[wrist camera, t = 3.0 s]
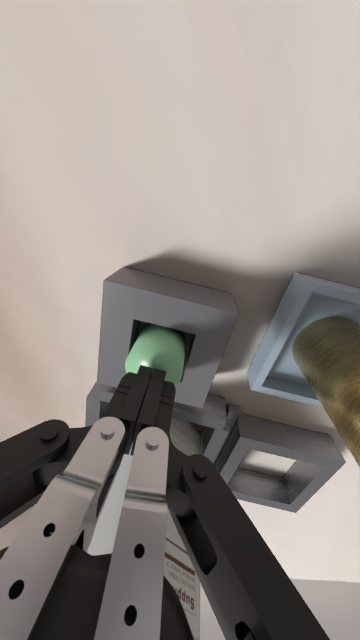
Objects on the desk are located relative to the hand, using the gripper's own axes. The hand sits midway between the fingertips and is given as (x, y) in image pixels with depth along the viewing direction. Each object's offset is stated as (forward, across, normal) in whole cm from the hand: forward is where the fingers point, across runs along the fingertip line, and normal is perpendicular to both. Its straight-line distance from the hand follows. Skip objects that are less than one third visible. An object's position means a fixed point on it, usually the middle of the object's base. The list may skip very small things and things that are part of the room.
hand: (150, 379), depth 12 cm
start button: (+4, 0, 0) cm, 4 cm away
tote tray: (+6, -12, -2) cm, 14 cm away
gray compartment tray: (+6, -7, +12) cm, 15 cm away
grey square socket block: (+6, 0, 0) cm, 6 cm away
